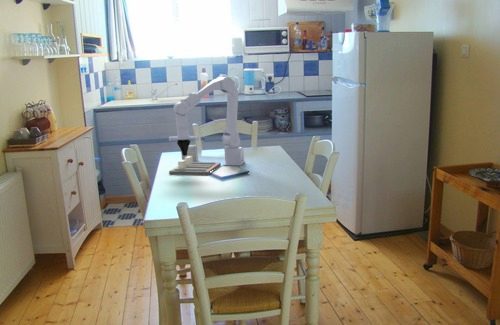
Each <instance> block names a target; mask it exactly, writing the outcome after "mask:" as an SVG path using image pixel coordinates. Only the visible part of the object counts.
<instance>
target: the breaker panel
mask: <svg viewBox="0 0 500 325" xmlns="http://www.w3.org/2000/svg"><path fill="white" fill-rule="evenodd" d="M221 164H222V163H221V162H215V161H197V162H193V164H186V167H187V168H185V169H183V168H179V167H178V165H177V166H175V167H174V168H172V169H171V170H169V172H168V175H176V176H177V175H178V176H179V175H183V176H184V175H185V176H189V175H190V176H210V174H211V173H210V171H212V170H214V169H216V168H217V169H218V168H219V167H221V166H222V165H221ZM217 169H216V170H217ZM214 171H215V170H214Z"/></svg>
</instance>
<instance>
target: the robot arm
mask: <svg viewBox="0 0 500 325" xmlns="http://www.w3.org/2000/svg"><path fill="white" fill-rule="evenodd" d="M213 91H220V92H222V93H223V94H224V95H226V97H227V99H226V100H227V102H226V118H225V119H226V120H225V129H224V130H223V135H222V136H221V142H222V144H223V146H224V148H223V149H224V162H223V164H222V166H236V167H237V166H239V167H240V166H242V165H244V163H245V161H246V160H245V151H244V147H243V146H240V144H241V138H240V133H239V130H238V128H237V127H238V126H237V125H238V124H237V123H238V111H239V109H238V108H239V106H238V105H239V91H238V89H237V86H236V82H235V80H233V79H232V77H230V76H217V77H216V78H214V79H212V80H211V81H210V82H209V83H207V84H206V85H205V86H204V87H202V88H201V89H200V90H199V91H197V92H189V93H188V95H187V96H186V97H184V98H181V99H180V101H179V102H178V101H177V102H175V104H174V105H173V108H172V111H173V113H174V114H175V115H174V116H175V125H176V135H173V136H168V141H169V142H172V141H173V142H176V144H177V145H178V148H179V149H180V151H182V154H183V156H186V155H187V151H188V147H189V145H191V144H190V143H191V141H192V142H193V141H195V142H197V141H199V135H190V131H189V130H190V128H189V118H188V113H189V112H190V110H191V109H193V108H194V107H196V106H197V105H198V104H200V103H201V99H202V98H205V96H208V95H209V94H210V93H212V92H213ZM182 154H181V155H182Z"/></svg>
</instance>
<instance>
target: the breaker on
mask: <svg viewBox="0 0 500 325" xmlns="http://www.w3.org/2000/svg"><path fill="white" fill-rule="evenodd" d="M185 160H186V164H193V159H192V156H187V157H185Z"/></svg>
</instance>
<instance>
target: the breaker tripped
mask: <svg viewBox="0 0 500 325" xmlns="http://www.w3.org/2000/svg"><path fill="white" fill-rule="evenodd" d="M177 166H178V167H179V168H183V169H185V168H187V167H186V160H182V159H180V160H178V161H177Z"/></svg>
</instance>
